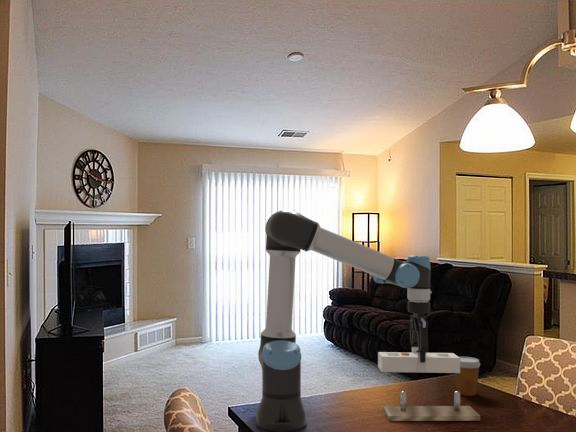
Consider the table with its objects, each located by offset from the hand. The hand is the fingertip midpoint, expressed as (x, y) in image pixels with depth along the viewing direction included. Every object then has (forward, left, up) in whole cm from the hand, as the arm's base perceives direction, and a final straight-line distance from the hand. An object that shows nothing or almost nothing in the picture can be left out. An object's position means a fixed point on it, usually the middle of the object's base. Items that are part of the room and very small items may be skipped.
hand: (418, 368), depth 173 cm
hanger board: (+8, -9, -11) cm, 17 cm away
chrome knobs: (+8, -9, -11) cm, 17 cm away
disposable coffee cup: (+8, +21, -12) cm, 25 cm away
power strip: (0, 0, 0) cm, 0 cm away
